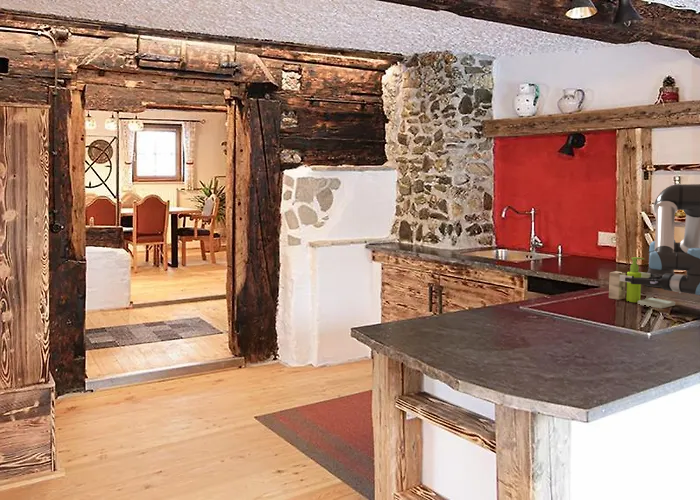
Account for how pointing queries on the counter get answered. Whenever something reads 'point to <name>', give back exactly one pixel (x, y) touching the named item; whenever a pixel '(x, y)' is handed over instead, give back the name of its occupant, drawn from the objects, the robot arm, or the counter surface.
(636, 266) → the soap dispenser
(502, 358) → the counter surface
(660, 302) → the sage pad
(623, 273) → the birch post
